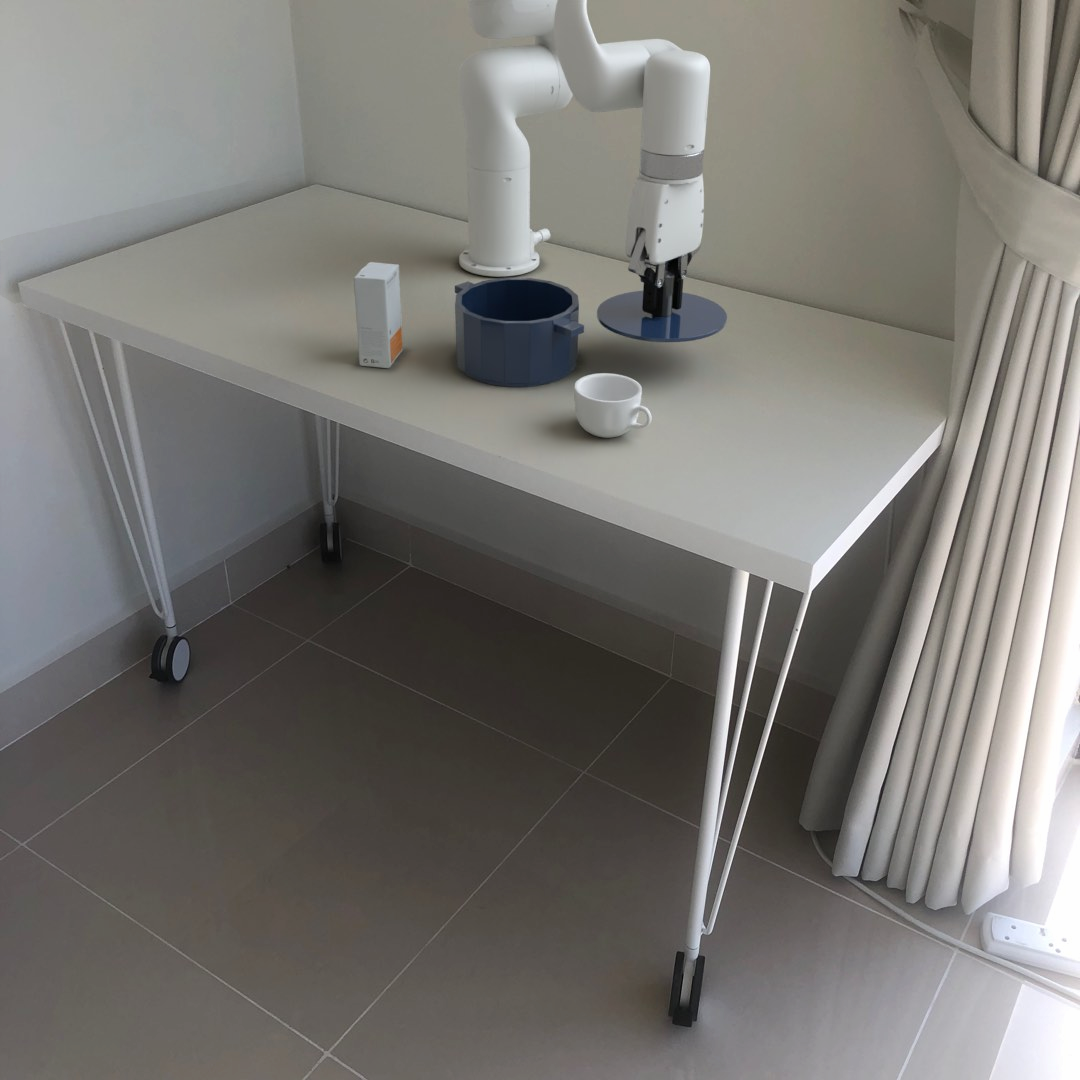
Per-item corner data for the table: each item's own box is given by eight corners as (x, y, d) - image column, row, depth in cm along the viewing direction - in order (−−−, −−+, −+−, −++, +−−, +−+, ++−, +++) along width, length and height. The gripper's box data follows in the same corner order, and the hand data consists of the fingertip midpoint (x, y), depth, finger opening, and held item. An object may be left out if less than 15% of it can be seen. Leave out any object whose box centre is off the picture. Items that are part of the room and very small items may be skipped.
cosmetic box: (390, 369, 150) (385, 280, 143) (359, 366, 151) (352, 277, 144) (404, 350, 155) (399, 263, 148) (373, 347, 156) (367, 260, 149)
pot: (503, 322, 163) (503, 264, 159) (616, 367, 151) (619, 305, 147) (419, 354, 154) (415, 293, 149) (532, 405, 142) (533, 340, 137)
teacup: (559, 430, 136) (560, 388, 133) (598, 408, 141) (600, 367, 138) (629, 457, 131) (632, 414, 128) (667, 433, 136) (671, 391, 133)
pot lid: (652, 288, 160) (655, 243, 156) (752, 321, 150) (757, 274, 146) (569, 321, 149) (570, 273, 146) (671, 358, 140) (674, 308, 136)
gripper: (688, 145, 146) (678, 286, 156) (602, 170, 136) (597, 319, 146) (737, 157, 142) (723, 301, 152) (652, 183, 132) (643, 336, 142)
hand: (661, 308), depth 149 cm, fingers closed on pot lid, 2 cm apart
